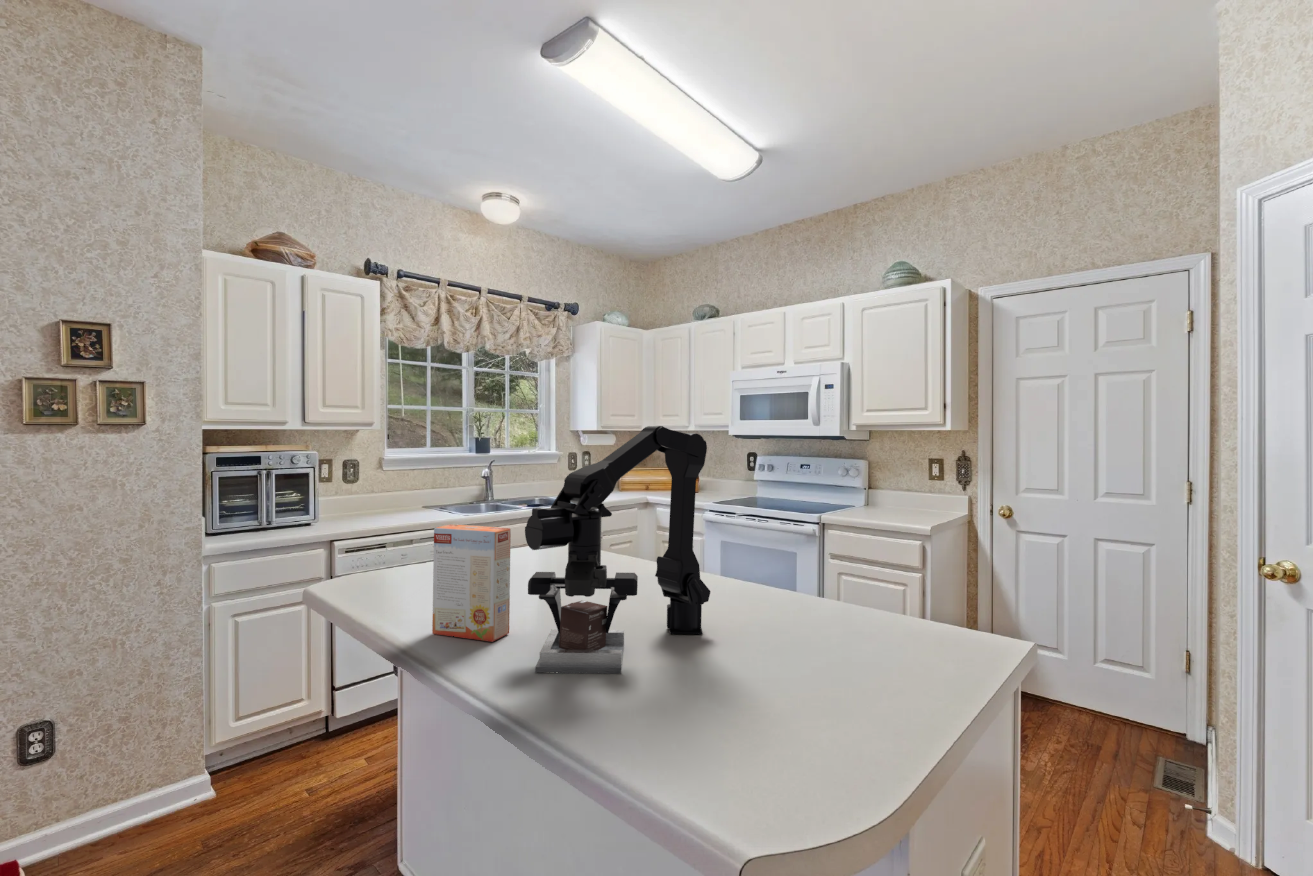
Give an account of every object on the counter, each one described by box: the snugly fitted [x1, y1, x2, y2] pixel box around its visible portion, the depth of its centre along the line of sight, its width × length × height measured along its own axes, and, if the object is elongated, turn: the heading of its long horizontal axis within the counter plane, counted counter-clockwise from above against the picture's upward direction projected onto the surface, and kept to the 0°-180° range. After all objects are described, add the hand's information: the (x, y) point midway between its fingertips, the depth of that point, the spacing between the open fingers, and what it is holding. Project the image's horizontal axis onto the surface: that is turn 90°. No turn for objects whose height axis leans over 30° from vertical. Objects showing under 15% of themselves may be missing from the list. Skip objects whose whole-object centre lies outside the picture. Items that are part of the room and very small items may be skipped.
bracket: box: [534, 628, 625, 675], centre depth 105 cm, size 14×14×3 cm
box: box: [559, 600, 609, 650], centre depth 105 cm, size 6×6×7 cm
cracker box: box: [431, 524, 512, 643], centre depth 117 cm, size 14×6×21 cm, turn 71°
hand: (583, 632), depth 105 cm, fingers closed on box, 8 cm apart
